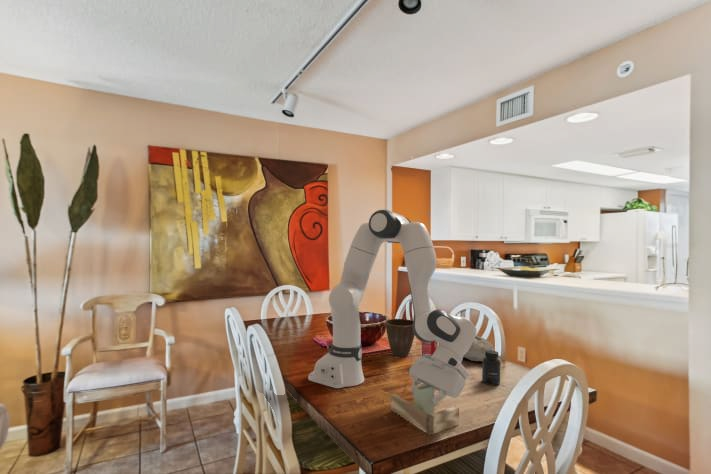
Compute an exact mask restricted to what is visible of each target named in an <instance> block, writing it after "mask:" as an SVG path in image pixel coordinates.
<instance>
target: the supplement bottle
mask: <svg viewBox="0 0 711 474" xmlns="http://www.w3.org/2000/svg"><path fill="white" fill-rule="evenodd" d="M485 356H486V357H484V358H483V360H482V361H481V362H482V363H481V366H482V369H481V381H482V382H483V384H486V385H488V386H489V385H490V386H498V385H500V384H501V370H502V369H501V365H502V364H501V363H502V362H501V360H500V359H499V352H498V351H497V350H494V351H493V350H487V351H485Z"/></svg>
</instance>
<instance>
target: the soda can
mask: <svg viewBox="0 0 711 474" xmlns="http://www.w3.org/2000/svg"><path fill="white" fill-rule="evenodd" d="M438 346H439V343H438V342H437V341H436V340H435V341H433V342H431V343H424V342H421V356H423V355H425V354H427V355H429V356H432V355H433V353H434V352H435V350H436V349H437V347H438ZM424 357H425V356H424Z"/></svg>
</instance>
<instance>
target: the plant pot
mask: <svg viewBox="0 0 711 474" xmlns="http://www.w3.org/2000/svg"><path fill="white" fill-rule="evenodd" d="M412 326H413V320H412V319H406V318H405V319H404V318H392V319H387V320H385V329H386V337H387V339H388V340H387V341H388V344H389V348H390V351H391V354H392V356H393V357H396V358H407V357H408V356H409V354H410V352H411V349H412V346H413V341H414V338H415V335H414V333H413V328H412Z"/></svg>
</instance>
